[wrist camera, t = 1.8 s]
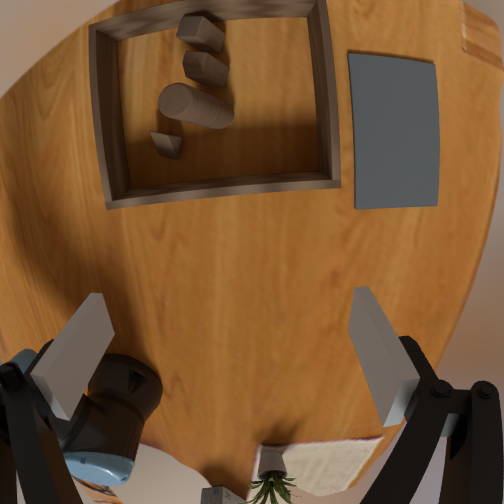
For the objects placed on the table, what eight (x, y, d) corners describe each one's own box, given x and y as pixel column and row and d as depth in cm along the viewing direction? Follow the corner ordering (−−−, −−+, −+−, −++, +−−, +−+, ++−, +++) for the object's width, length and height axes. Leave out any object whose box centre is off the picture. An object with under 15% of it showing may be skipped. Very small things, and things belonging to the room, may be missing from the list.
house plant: (235, 467, 69) (233, 519, 54) (238, 441, 63) (238, 501, 48) (288, 468, 69) (293, 519, 54) (299, 442, 64) (307, 500, 49)
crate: (126, 197, 42) (106, 210, 36) (110, 37, 33) (88, 25, 27) (326, 178, 42) (341, 188, 35) (313, 11, 33) (324, -7, 26)
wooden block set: (201, 36, 36) (158, 8, 27) (258, 40, 34) (222, 6, 24) (167, 154, 42) (115, 152, 33) (220, 170, 40) (173, 169, 30)
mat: (354, 208, 43) (355, 209, 43) (347, 54, 35) (348, 53, 34) (435, 205, 43) (437, 206, 43) (432, 64, 35) (434, 64, 34)
